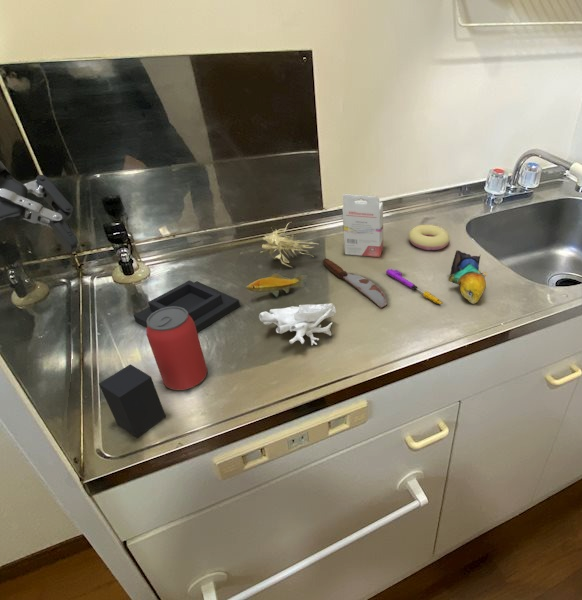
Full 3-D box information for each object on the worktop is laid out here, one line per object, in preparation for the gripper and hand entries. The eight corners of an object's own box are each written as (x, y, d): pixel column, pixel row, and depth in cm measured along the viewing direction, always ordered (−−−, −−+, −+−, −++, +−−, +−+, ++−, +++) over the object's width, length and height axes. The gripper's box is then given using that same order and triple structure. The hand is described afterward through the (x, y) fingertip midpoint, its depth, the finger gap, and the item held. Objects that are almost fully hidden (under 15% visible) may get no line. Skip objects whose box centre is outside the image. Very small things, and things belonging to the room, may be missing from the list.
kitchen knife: (399, 298, 94) (379, 304, 91) (398, 305, 95) (378, 312, 92) (340, 253, 107) (321, 257, 104) (339, 260, 108) (320, 264, 105)
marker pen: (384, 273, 102) (438, 306, 93) (385, 268, 102) (440, 301, 93) (393, 272, 104) (447, 304, 95) (394, 267, 104) (448, 299, 94)
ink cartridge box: (383, 247, 113) (384, 189, 104) (380, 258, 109) (380, 197, 100) (348, 244, 113) (346, 186, 105) (343, 254, 109) (341, 194, 101)
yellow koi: (247, 301, 91) (247, 279, 89) (244, 296, 92) (244, 273, 90) (307, 293, 97) (309, 272, 95) (303, 288, 99) (305, 267, 97)
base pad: (178, 344, 81) (173, 328, 80) (135, 321, 86) (129, 306, 84) (240, 306, 91) (237, 290, 89) (198, 287, 96) (194, 272, 94)
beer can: (154, 387, 73) (131, 326, 66) (180, 360, 78) (161, 300, 72) (192, 396, 72) (173, 334, 65) (216, 367, 77) (200, 307, 70)
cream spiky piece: (324, 271, 108) (333, 233, 106) (272, 273, 96) (281, 230, 93) (292, 254, 114) (299, 218, 111) (239, 255, 102) (246, 214, 99)
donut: (422, 239, 122) (401, 247, 115) (422, 221, 120) (400, 228, 113) (456, 245, 116) (435, 254, 109) (456, 226, 114) (436, 234, 107)
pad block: (137, 438, 65) (119, 397, 61) (116, 424, 67) (98, 383, 62) (166, 416, 68) (151, 376, 64) (146, 403, 70) (130, 363, 66)
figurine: (482, 307, 94) (487, 280, 90) (444, 301, 95) (447, 275, 91) (485, 278, 103) (489, 252, 99) (450, 273, 104) (453, 248, 100)
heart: (348, 304, 83) (291, 322, 74) (348, 340, 85) (293, 361, 77) (306, 289, 90) (251, 303, 82) (307, 322, 92) (253, 339, 84)
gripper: (-131, 151, 50) (-28, 276, 52) (18, 123, 60) (100, 229, 62) (-120, 188, 55) (-27, 300, 57) (15, 157, 65) (90, 253, 67)
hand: (39, 263), depth 59 cm, fingers open, 8 cm apart
